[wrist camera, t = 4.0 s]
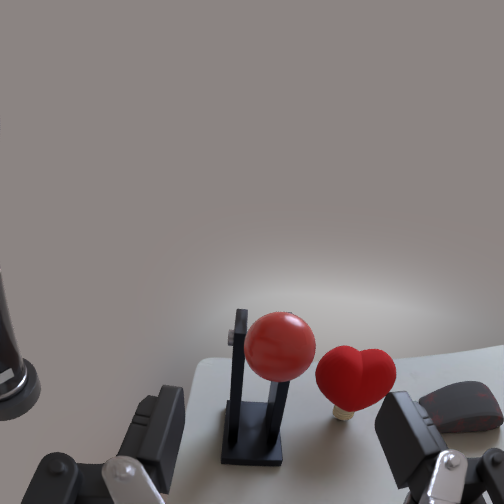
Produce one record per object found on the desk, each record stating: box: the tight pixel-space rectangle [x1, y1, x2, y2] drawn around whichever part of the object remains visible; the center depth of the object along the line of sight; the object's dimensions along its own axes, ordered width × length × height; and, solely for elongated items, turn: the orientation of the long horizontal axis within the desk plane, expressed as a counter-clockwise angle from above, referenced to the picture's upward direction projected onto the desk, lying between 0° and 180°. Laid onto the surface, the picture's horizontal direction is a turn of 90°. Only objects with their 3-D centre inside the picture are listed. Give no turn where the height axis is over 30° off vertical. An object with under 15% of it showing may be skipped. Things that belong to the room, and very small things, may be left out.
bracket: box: [221, 309, 292, 466], centre depth 27 cm, size 9×6×15 cm, turn 0°
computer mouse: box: [419, 381, 504, 433], centre depth 28 cm, size 8×14×4 cm, turn 74°
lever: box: [244, 312, 316, 382], centre depth 20 cm, size 14×4×4 cm, turn 0°
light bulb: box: [315, 346, 396, 420], centre depth 30 cm, size 9×7×10 cm
